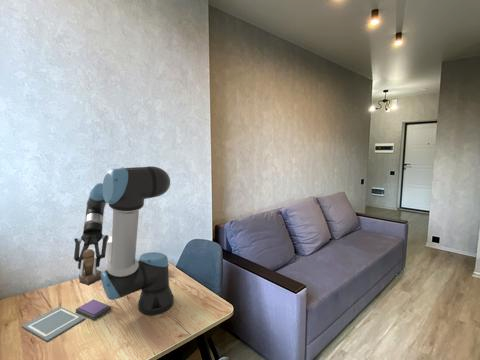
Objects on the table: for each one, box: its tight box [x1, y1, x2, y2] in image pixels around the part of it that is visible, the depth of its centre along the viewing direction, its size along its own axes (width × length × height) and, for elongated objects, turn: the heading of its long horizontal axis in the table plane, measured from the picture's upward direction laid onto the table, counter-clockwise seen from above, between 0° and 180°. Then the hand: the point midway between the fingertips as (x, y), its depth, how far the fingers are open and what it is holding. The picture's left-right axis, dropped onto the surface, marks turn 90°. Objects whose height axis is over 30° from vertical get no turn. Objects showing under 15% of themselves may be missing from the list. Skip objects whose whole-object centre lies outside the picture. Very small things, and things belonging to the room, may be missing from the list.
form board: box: [21, 306, 86, 343], centre depth 104 cm, size 18×14×1 cm
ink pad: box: [75, 299, 112, 322], centre depth 111 cm, size 12×8×2 cm, turn 63°
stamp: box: [78, 248, 103, 287], centre depth 109 cm, size 6×6×14 cm
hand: (87, 275), depth 106 cm, fingers closed on stamp, 4 cm apart
